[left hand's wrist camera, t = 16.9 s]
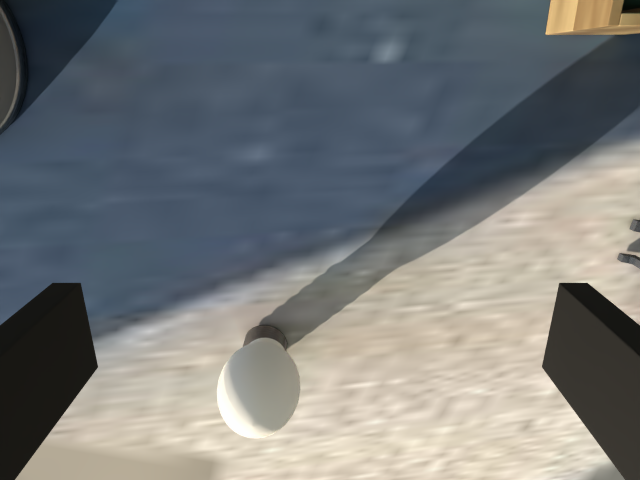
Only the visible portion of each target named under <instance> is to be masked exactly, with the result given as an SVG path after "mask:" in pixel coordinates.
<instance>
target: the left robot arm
mask: <svg viewBox="0 0 640 480" xmlns="http://www.w3.org/2000/svg"><path fill="white" fill-rule="evenodd" d="M27 74H28V69H27V58H26V52H25V47H24V43H23V39H22V36H21V33H20V30H19V27H18V25H17V23H16V21H15V18H14V16H13V14H12V13H11V11H10V9H9V7H8V5H7V4H6V2H5V1H4V0H0V135H1V134H2V133H3V132H4V131H5V130H6V129H7V128H8V127H9V126H10V125H11V123H12V122H13V121H14V119H15V118H16V116H17V114H18V112H19V110H20V108H21V106H22V103H23V100H24V97H25V93H26V87H27ZM97 368H98V365H97V360H96V355H95V350H94V345H93V341H92V336H91V331H90V326H89V321H88V316H87V312H86V307H85V302H84V297H83V292H82V287H81V283H52V284H51V285H50V286H48V287H47V288H46V289H45V290H43V291H42V292H41V293H40V294H38V295H37V296H36V297H35V298H34V299H32V300H31V301H30V302H29V303H27V304H26V305H25V306H24V307H22V308H21V309H20V310H19V311H17V312H16V313H15V314H14V315H13V316H11V317H10V318H9V319H8V320H6V321H5V322H4V323H3V324H1V325H0V480H15V479H16V477H17V476H18V475H19V473H20V472H21V471H22V469H23V468H24V467H25V465H26V464H27V463H28V461H29V460H30V458H31V457H32V456H33V454H34V453H35V452H36V450H37V449H38V448H39V446H40V445H41V444H42V442H43V441H44V439H45V438H46V437H47V435H48V434H49V433H50V431H51V430H52V429H53V427H54V426H55V425H56V423H57V422H58V421H59V419H60V418H61V416H62V415H63V414H64V412H65V411H66V410H67V408H68V407H69V406H70V404H71V403H72V402H73V400H74V399H75V397H76V396H77V395H78V393H79V392H80V391H81V389H82V388H83V387H84V385H85V384H86V383H87V381H88V380H89V379H90V377H91V376H92V374H93V373H94V372H95V370H96V369H97ZM542 368H543V369H544V370H545V372H546V373H547V374H548V376H549V377H550V379H551V380H552V381H553V383H554V384H555V385H556V387H557V388H558V389H559V391H560V392H561V393H562V395H563V396H564V397H565V399H566V400H567V402H568V403H569V404H570V406H571V407H572V408H573V410H574V411H575V412H576V414H577V415H578V416H579V418H580V419H581V421H582V422H583V423H584V425H585V426H586V427H587V429H588V430H589V431H590V433H591V434H592V435H593V437H594V438H595V439H596V441H597V442H598V444H599V445H600V446H601V448H602V449H603V450H604V452H605V453H606V454H607V456H608V457H609V458H610V460H611V461H612V463H613V464H614V465H615V467H616V468H617V469H618V471H619V472H620V473H621V475H622V476H623V477H624V479H625V480H640V325H639V324H637V323H636V322H635V321H634V320H632V319H631V318H630V317H629V316H627V315H626V314H625V313H624V312H623V311H621V310H620V309H619V308H618V307H616V306H615V305H614V304H613V303H611V302H610V301H609V300H608V299H606V298H605V297H604V296H603V295H602V294H600V293H599V292H598V291H597V290H595V289H594V288H593V287H592V286H590V285H589V284H588V283H559V287H558V292H557V297H556V302H555V307H554V312H553V316H552V321H551V326H550V331H549V336H548V341H547V345H546V350H545V355H544V360H543V365H542Z"/></svg>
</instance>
